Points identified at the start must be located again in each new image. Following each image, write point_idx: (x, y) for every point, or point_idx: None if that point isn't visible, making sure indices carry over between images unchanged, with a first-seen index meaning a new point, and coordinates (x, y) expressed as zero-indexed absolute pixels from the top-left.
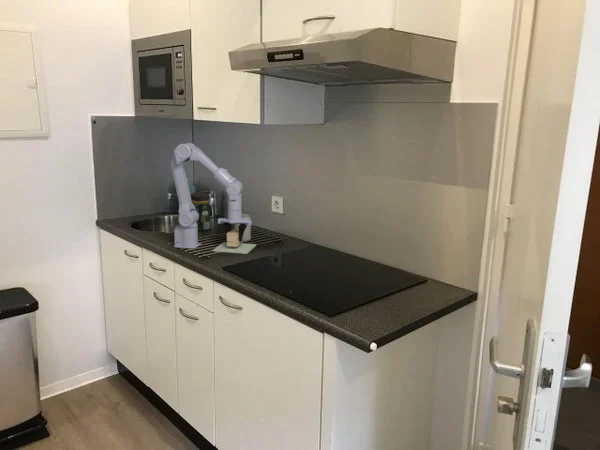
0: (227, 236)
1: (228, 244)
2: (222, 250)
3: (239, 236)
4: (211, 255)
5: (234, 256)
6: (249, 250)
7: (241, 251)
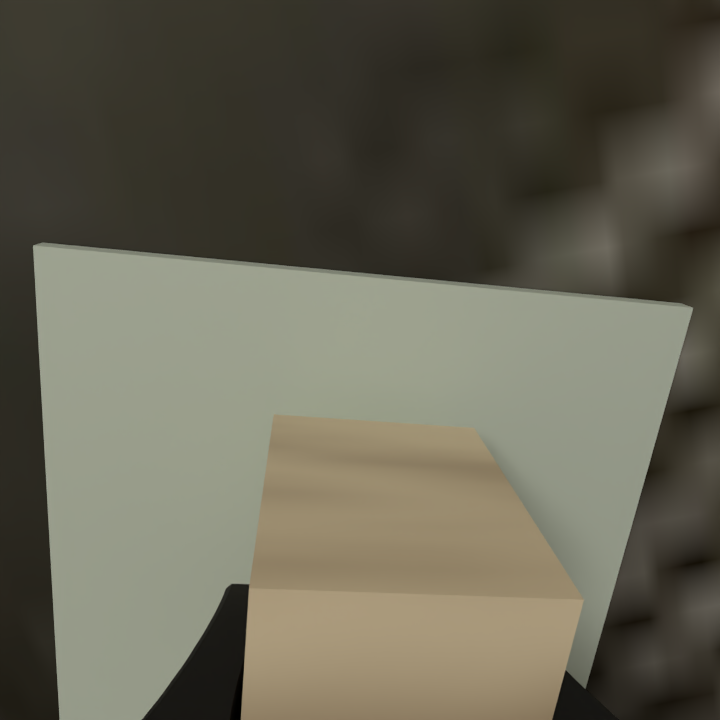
0: (528, 539)
1: (451, 441)
2: (521, 310)
3: (231, 654)
4: (677, 19)
5: (228, 13)
6: (42, 403)
7: (165, 308)
